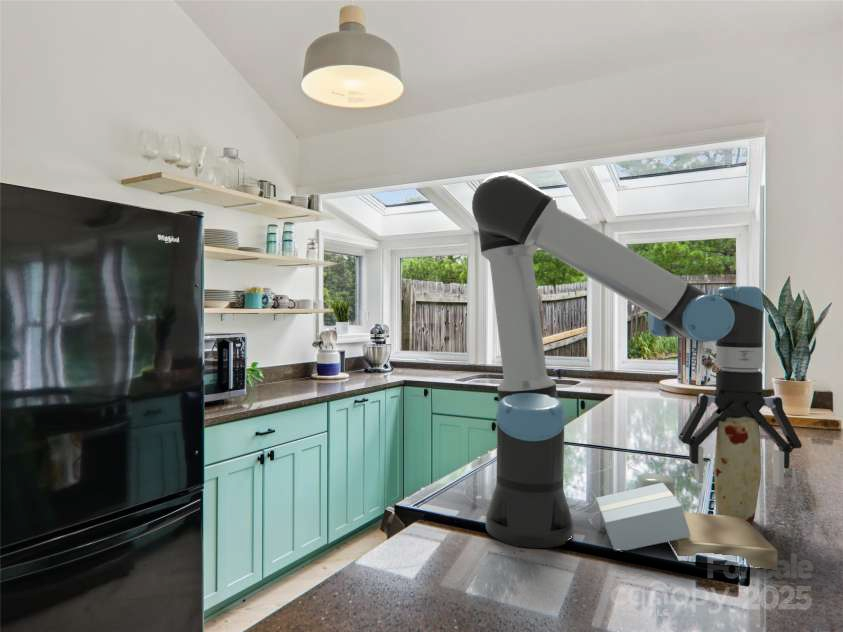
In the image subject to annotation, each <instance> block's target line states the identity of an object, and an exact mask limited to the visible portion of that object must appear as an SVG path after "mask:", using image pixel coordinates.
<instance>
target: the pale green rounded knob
mask: <svg viewBox="0 0 843 632" xmlns="http://www.w3.org/2000/svg"><path fill="white" fill-rule="evenodd" d="M659 483H664V485H665V486H666V487H667V488H668V490H669V491H671V493H672V494H673V495H674V497H675V496H676V492H675V491H676V479H674V478H673V477H671V476H668V475H666V474H665V475H664V474H659V473H642V474H640V475H638V487H637V488H641V487H645V486H650V485H654V484H659ZM675 498H676V497H675Z"/></svg>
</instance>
